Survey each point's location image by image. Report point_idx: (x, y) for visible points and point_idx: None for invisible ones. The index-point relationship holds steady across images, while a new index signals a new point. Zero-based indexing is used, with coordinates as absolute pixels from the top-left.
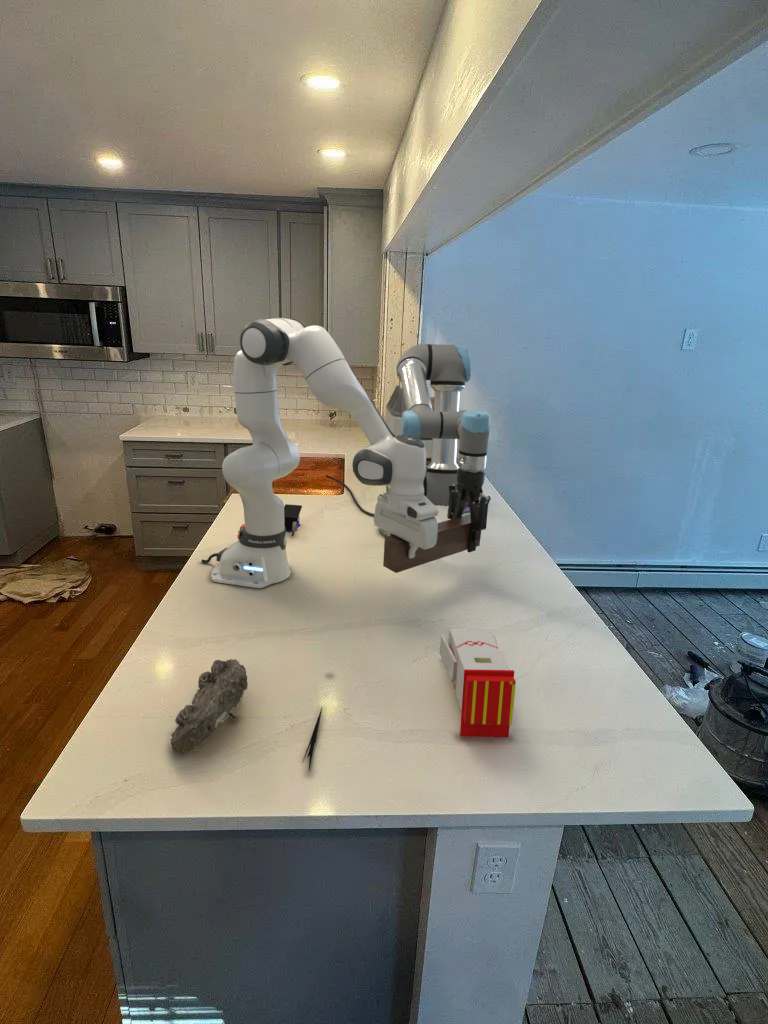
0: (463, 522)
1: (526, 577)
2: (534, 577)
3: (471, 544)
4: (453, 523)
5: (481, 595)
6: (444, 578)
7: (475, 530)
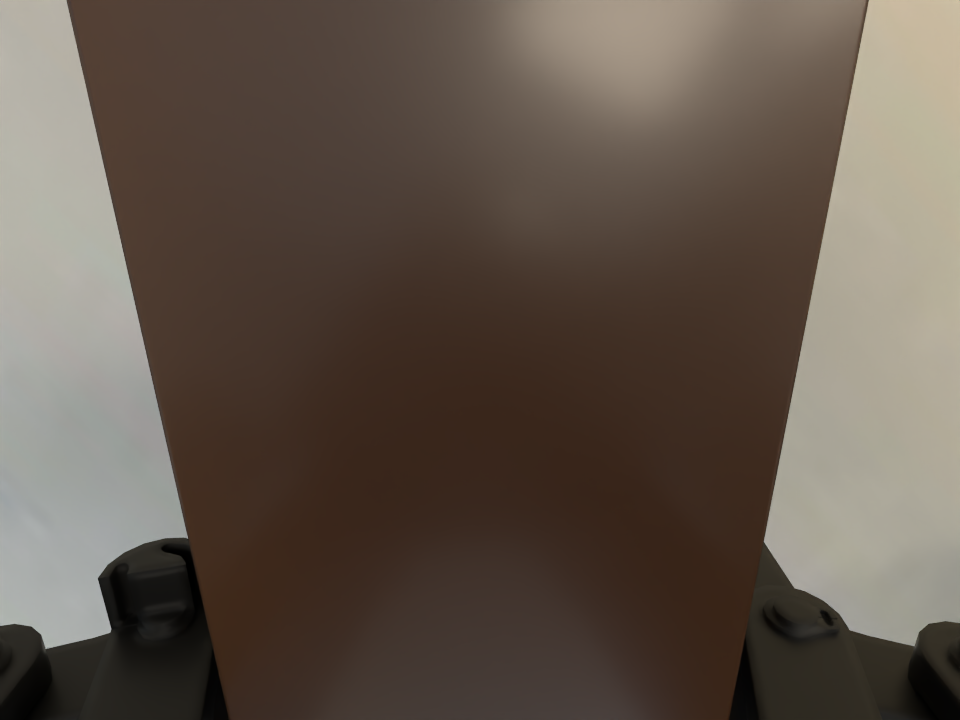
0: (346, 620)
1: None
2: None
3: None
4: (438, 306)
5: None
6: None
7: (137, 623)
